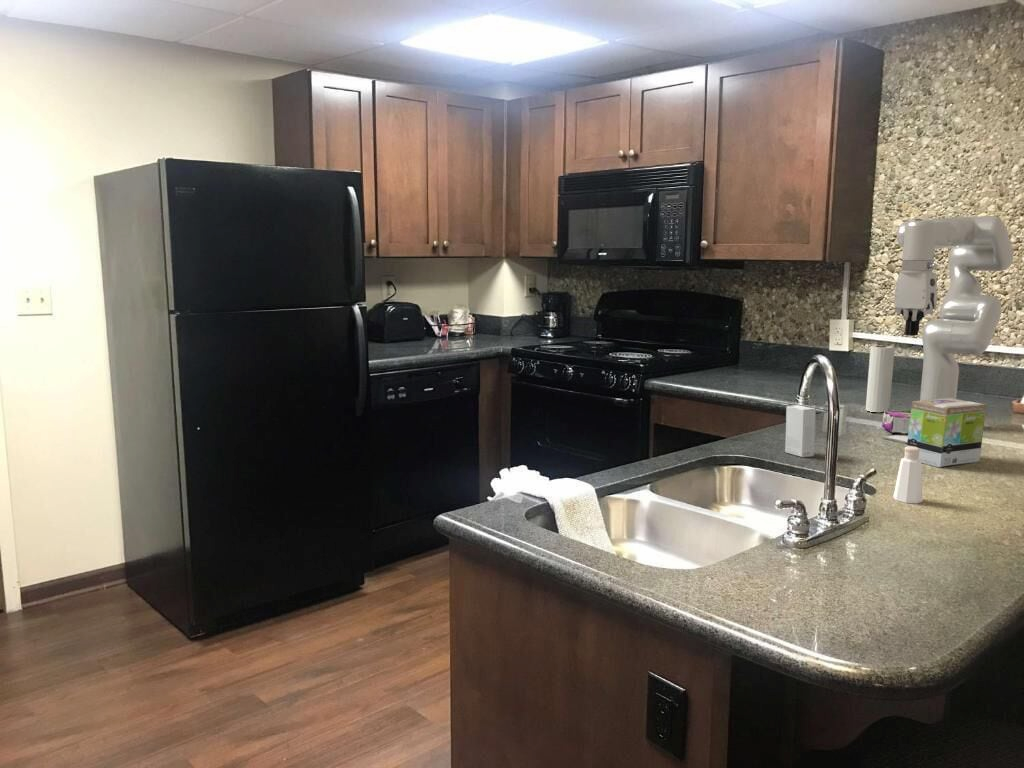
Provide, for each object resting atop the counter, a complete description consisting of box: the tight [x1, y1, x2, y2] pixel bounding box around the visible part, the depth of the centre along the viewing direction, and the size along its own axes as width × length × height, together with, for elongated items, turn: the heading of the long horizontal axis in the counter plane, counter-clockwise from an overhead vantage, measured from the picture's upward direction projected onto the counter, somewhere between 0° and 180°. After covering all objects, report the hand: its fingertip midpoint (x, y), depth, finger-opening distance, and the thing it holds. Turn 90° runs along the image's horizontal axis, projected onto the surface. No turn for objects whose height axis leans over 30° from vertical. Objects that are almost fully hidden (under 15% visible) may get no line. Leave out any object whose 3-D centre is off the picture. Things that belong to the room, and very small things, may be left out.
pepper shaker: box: [893, 445, 923, 505], centre depth 167 cm, size 5×5×11 cm
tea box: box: [906, 398, 987, 468], centre depth 200 cm, size 15×10×15 cm
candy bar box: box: [881, 411, 911, 434], centre depth 231 cm, size 11×5×16 cm
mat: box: [881, 433, 908, 444], centre depth 221 cm, size 13×16×1 cm
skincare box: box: [784, 404, 817, 458], centre depth 205 cm, size 6×4×12 cm
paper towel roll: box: [865, 345, 896, 413], centre depth 263 cm, size 7×6×21 cm
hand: (911, 335), depth 223 cm, fingers closed
